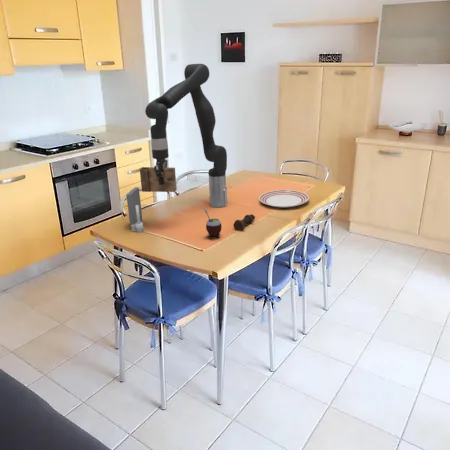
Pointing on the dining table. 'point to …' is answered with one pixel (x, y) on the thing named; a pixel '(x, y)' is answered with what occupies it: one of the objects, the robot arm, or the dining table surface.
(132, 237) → the dining table surface
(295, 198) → the dinner plate
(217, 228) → the mate gourd
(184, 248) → the dining table surface
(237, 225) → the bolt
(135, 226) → the cabinet side
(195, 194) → the dining table surface
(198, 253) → the dining table surface
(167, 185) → the door
